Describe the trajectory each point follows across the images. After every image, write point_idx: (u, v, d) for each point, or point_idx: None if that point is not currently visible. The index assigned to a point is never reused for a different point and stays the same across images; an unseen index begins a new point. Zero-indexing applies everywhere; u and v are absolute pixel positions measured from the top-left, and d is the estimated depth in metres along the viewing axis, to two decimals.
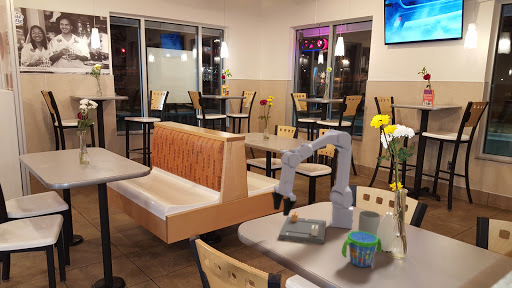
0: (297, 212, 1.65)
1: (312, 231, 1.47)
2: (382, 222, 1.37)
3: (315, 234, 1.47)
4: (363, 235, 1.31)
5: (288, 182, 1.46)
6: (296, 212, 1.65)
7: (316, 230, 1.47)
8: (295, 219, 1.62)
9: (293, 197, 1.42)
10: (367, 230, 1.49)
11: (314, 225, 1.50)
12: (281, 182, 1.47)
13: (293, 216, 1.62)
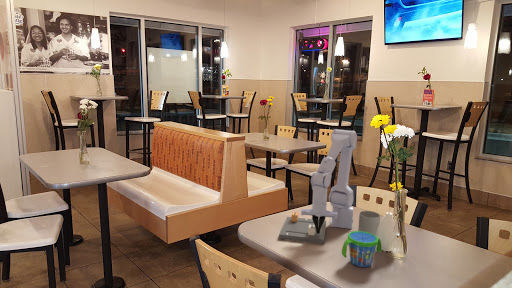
0: (297, 212, 1.65)
1: (309, 231, 1.47)
2: (382, 222, 1.37)
3: (312, 234, 1.47)
4: (363, 235, 1.31)
5: (326, 202, 1.45)
6: (296, 212, 1.65)
7: (313, 230, 1.47)
8: (295, 219, 1.62)
9: (337, 214, 1.45)
10: (367, 230, 1.49)
11: (311, 225, 1.50)
12: (320, 205, 1.44)
13: (293, 216, 1.62)
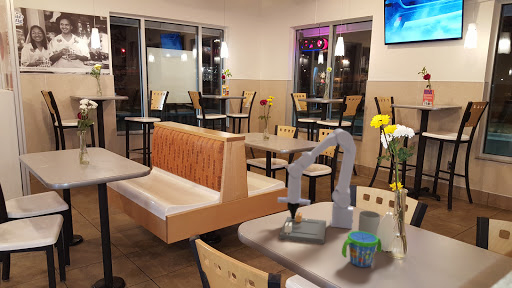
0: None
1: (285, 228, 1.50)
2: (382, 222, 1.37)
3: (288, 231, 1.49)
4: (363, 235, 1.31)
5: (300, 191, 1.60)
6: None
7: (289, 227, 1.49)
8: (299, 219, 1.61)
9: (309, 202, 1.61)
10: (367, 230, 1.49)
11: (288, 222, 1.52)
12: (294, 193, 1.59)
13: (297, 216, 1.61)
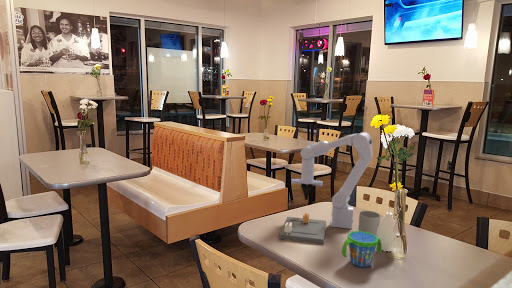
0: None
1: (285, 228, 1.50)
2: (382, 222, 1.37)
3: (288, 231, 1.49)
4: (363, 235, 1.31)
5: (313, 172, 1.68)
6: (307, 213, 1.64)
7: (289, 227, 1.49)
8: (306, 220, 1.60)
9: (322, 183, 1.68)
10: (367, 230, 1.49)
11: (288, 222, 1.52)
12: (308, 174, 1.66)
13: (304, 217, 1.60)
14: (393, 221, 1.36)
